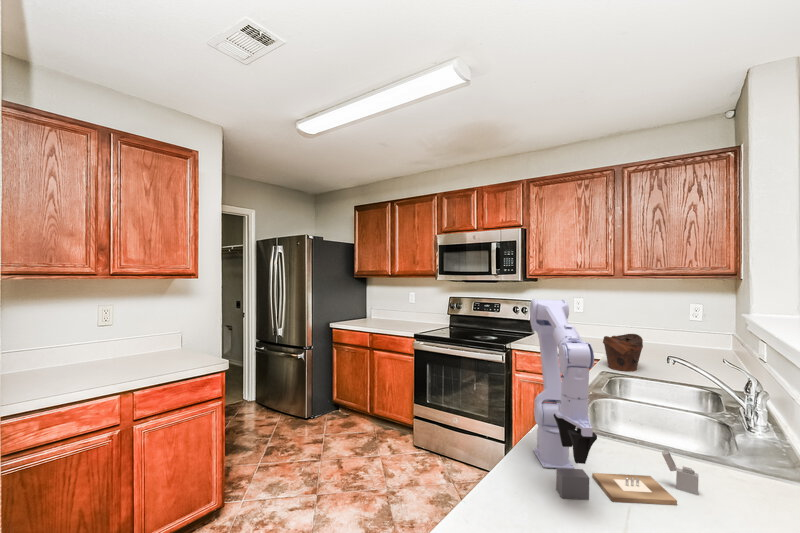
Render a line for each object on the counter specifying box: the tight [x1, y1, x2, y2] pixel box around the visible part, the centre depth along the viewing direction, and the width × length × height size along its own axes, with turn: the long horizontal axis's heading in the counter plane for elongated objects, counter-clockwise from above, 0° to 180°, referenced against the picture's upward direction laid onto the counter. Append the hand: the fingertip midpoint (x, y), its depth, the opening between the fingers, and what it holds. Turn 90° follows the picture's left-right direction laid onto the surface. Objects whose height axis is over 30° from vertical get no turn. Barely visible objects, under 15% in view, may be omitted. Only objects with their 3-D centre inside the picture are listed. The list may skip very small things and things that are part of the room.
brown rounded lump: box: [602, 333, 644, 372], centre depth 201 cm, size 18×20×18 cm
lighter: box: [661, 450, 699, 496], centre depth 92 cm, size 7×2×8 cm, turn 53°
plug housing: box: [555, 468, 590, 501], centre depth 89 cm, size 4×6×5 cm, turn 87°
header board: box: [591, 472, 678, 506], centre depth 91 cm, size 10×14×3 cm
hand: (573, 454), depth 89 cm, fingers open, 7 cm apart
